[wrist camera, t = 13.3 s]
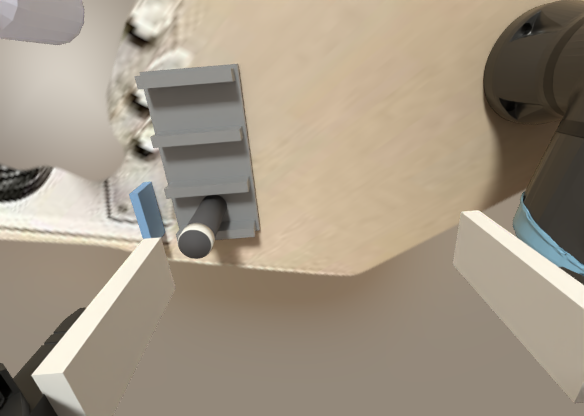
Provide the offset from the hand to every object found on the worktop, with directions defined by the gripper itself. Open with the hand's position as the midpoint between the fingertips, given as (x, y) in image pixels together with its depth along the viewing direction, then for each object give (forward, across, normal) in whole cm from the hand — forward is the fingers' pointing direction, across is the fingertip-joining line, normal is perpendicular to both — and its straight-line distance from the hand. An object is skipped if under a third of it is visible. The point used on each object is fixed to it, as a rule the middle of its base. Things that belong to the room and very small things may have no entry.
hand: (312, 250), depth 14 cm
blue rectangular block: (+35, +23, +11) cm, 43 cm away
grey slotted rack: (+35, +13, +4) cm, 37 cm away
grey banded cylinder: (+34, +13, +11) cm, 38 cm away
